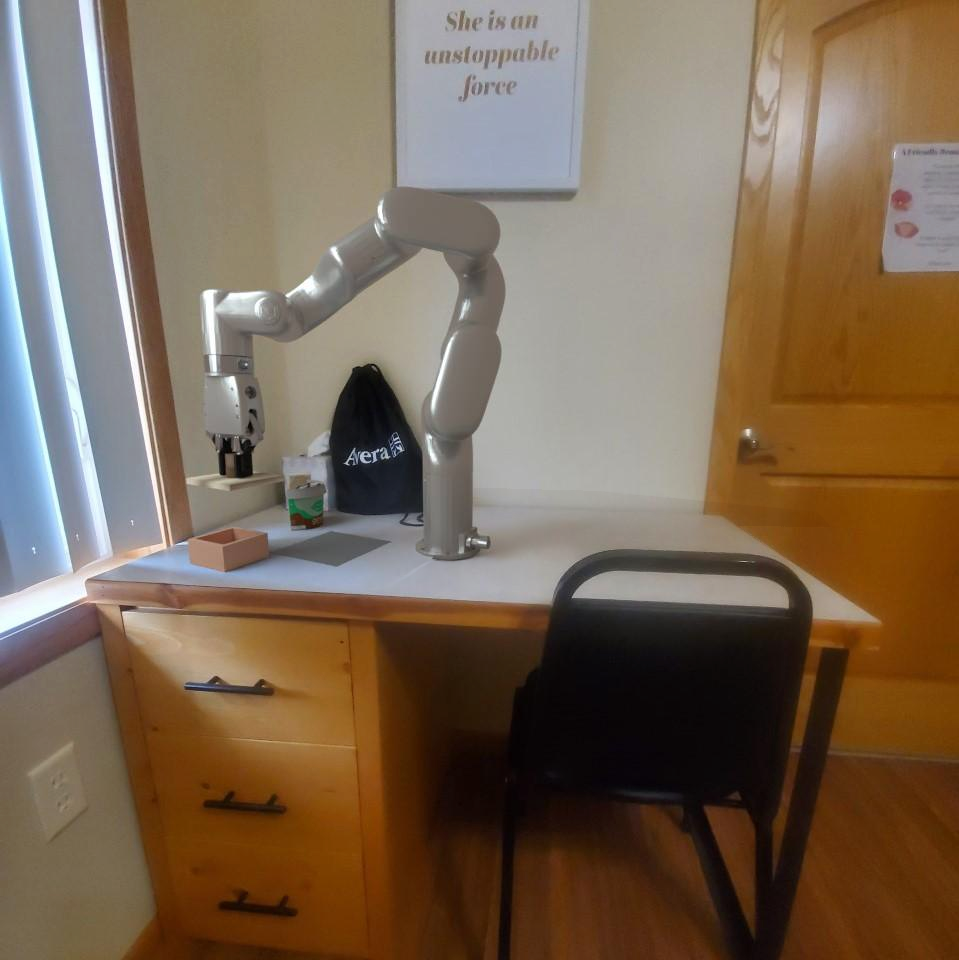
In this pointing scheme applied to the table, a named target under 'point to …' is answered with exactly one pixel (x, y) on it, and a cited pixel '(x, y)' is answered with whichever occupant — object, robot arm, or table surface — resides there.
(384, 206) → the robot arm
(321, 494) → the food container
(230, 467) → the lid
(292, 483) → the box
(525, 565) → the table surface
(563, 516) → the table surface
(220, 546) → the open square bin
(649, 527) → the table surface
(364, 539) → the mat
